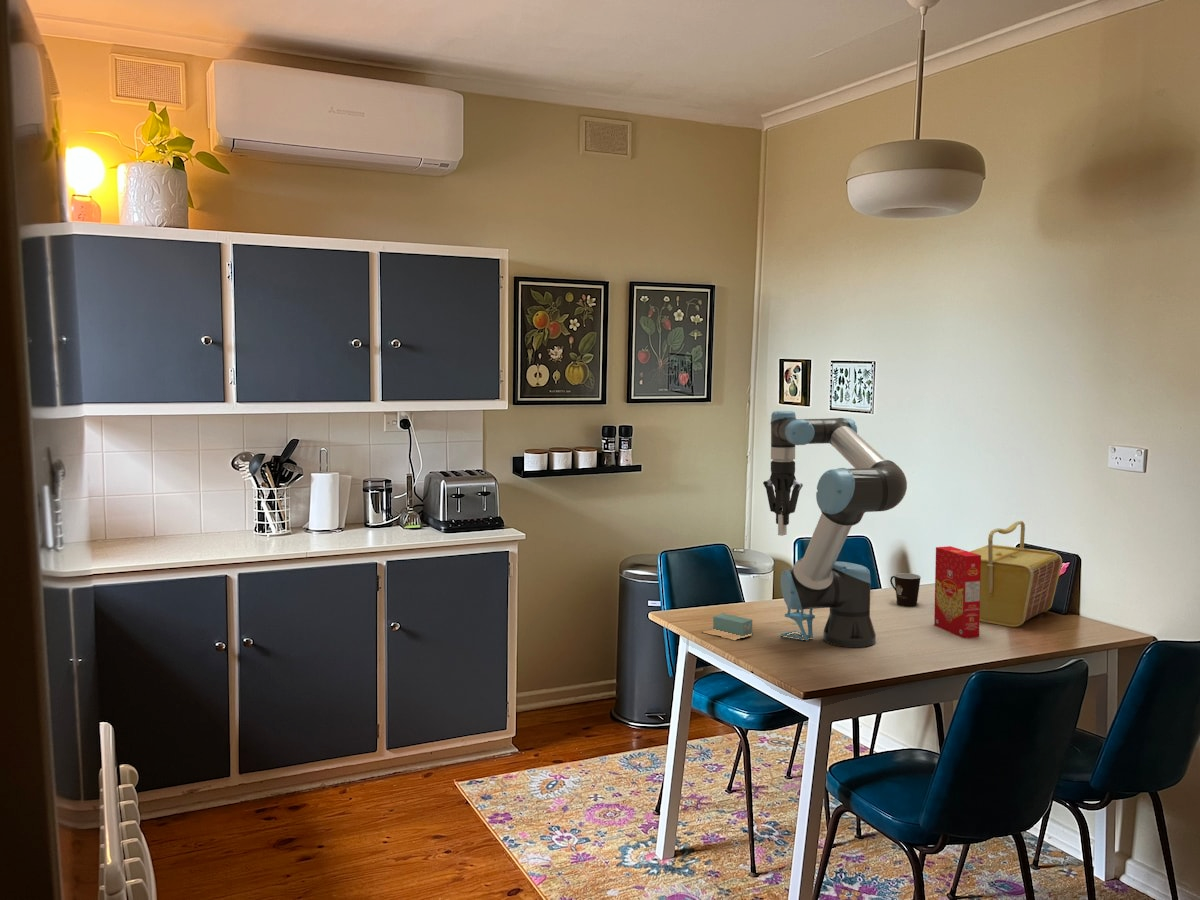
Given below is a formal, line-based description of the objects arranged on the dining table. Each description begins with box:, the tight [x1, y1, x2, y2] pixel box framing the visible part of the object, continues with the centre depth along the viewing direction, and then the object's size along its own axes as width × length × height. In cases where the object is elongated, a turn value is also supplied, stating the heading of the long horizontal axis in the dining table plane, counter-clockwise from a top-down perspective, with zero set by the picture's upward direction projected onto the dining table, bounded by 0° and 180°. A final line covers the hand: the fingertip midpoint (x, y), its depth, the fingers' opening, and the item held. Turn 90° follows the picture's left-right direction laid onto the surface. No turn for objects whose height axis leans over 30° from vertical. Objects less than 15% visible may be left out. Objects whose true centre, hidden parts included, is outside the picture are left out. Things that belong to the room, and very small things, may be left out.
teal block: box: [712, 612, 753, 636], centre depth 280 cm, size 5×5×11 cm
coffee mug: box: [889, 572, 922, 608], centre depth 315 cm, size 12×9×10 cm
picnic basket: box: [969, 520, 1063, 628], centre depth 298 cm, size 29×26×30 cm
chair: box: [780, 605, 816, 641], centre depth 276 cm, size 8×8×12 cm
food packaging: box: [933, 545, 981, 639], centre depth 281 cm, size 15×5×25 cm, turn 14°
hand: (782, 534), depth 288 cm, fingers closed
